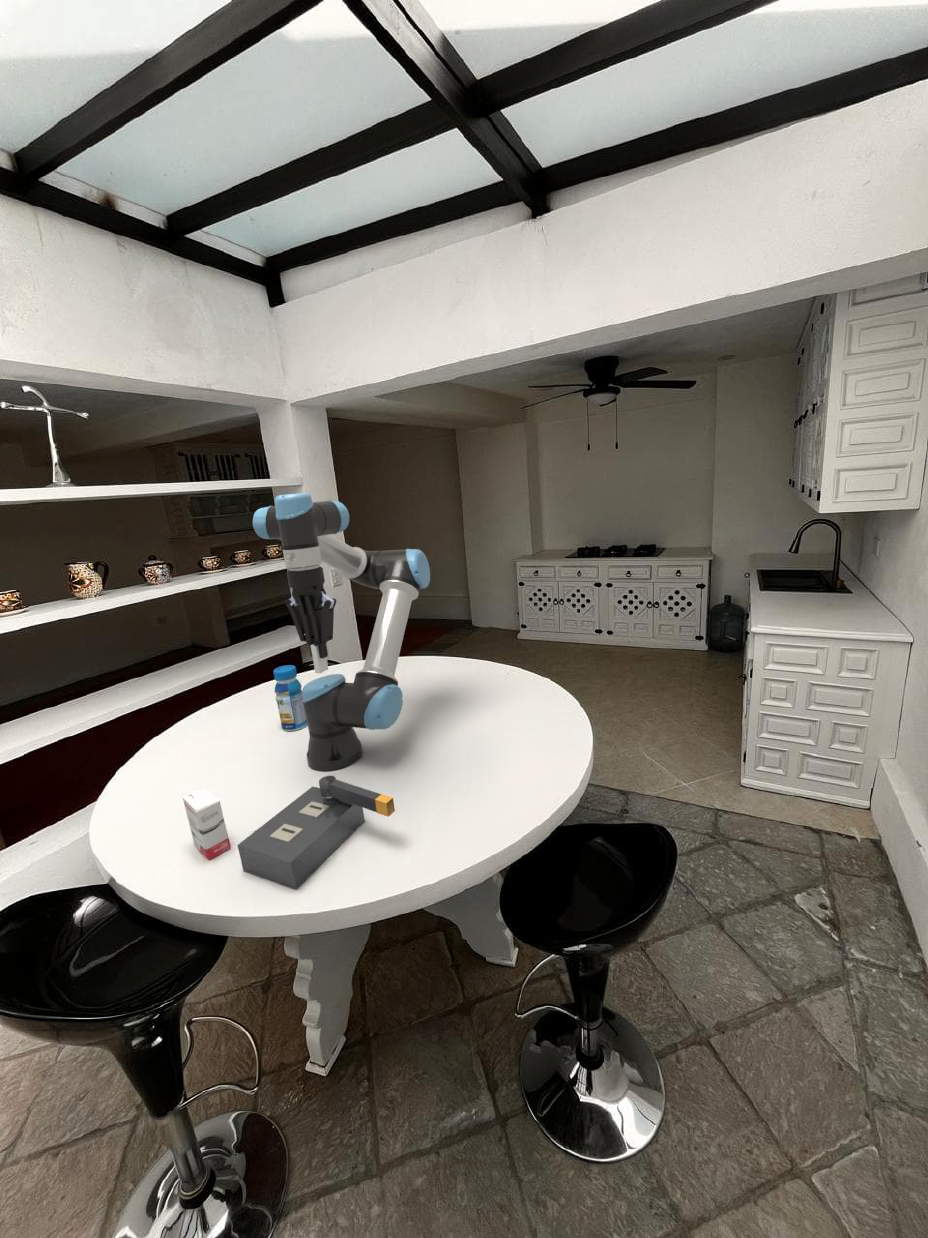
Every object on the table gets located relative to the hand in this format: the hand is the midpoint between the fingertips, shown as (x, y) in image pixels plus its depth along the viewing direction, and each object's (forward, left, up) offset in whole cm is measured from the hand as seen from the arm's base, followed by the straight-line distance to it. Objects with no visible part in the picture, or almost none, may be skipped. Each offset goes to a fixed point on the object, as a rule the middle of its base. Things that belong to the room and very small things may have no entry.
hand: (321, 671), depth 113 cm
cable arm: (+12, -9, -25) cm, 29 cm away
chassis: (+4, -16, -32) cm, 37 cm away
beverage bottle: (-42, +27, -33) cm, 60 cm away
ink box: (-16, -24, -33) cm, 44 cm away
